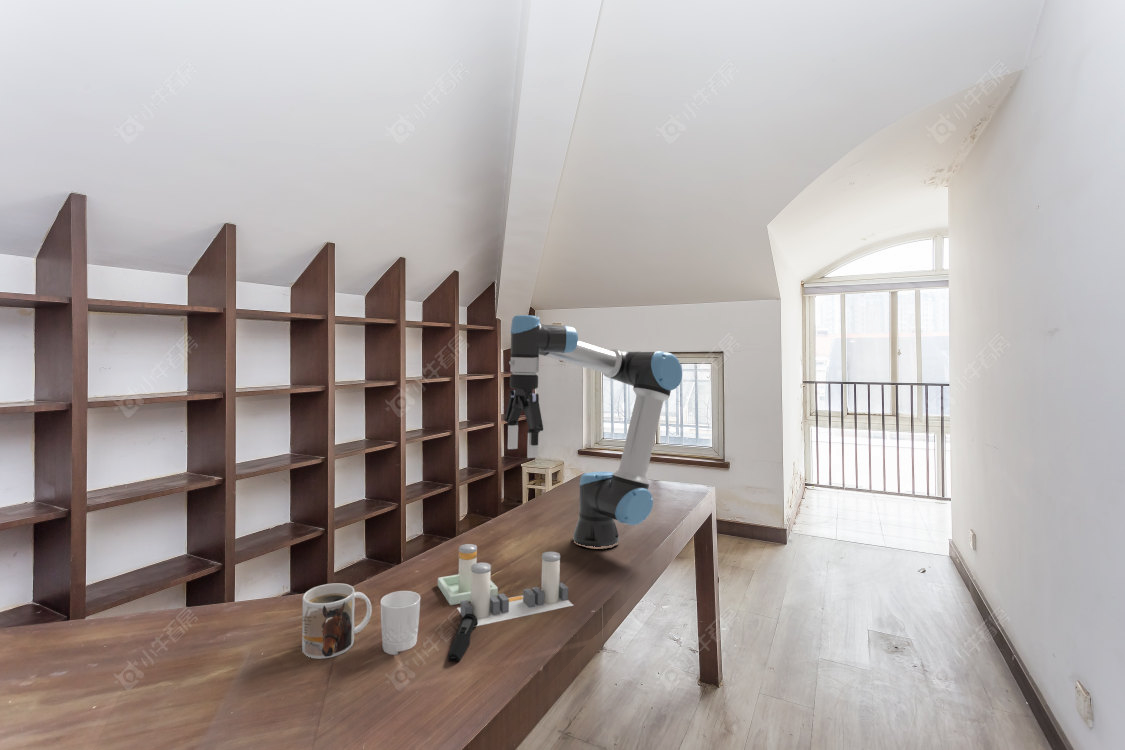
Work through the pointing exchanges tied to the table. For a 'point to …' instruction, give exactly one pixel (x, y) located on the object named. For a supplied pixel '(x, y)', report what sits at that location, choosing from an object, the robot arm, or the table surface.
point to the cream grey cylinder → (550, 577)
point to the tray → (451, 590)
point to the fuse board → (518, 605)
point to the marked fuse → (466, 566)
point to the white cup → (399, 621)
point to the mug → (330, 620)
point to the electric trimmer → (462, 637)
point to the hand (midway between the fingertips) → (522, 453)
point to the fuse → (480, 589)
